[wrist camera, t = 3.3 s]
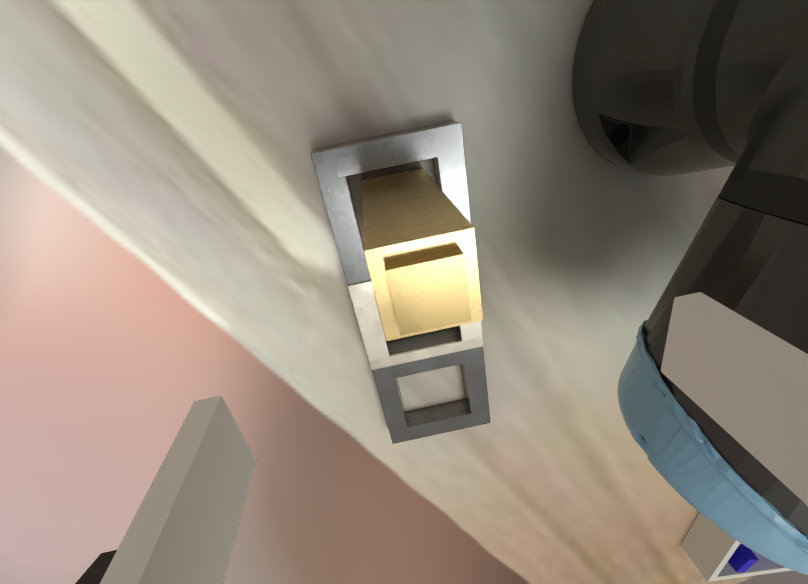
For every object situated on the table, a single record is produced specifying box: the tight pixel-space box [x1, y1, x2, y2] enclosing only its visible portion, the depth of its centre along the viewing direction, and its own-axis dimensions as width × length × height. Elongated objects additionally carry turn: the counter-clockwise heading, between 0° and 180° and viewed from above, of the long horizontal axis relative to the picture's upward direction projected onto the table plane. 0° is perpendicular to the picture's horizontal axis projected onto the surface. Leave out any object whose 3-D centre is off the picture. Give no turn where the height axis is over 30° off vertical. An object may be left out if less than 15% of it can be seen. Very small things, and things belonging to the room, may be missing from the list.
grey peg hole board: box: [311, 121, 490, 444], centre depth 32 cm, size 28×10×2 cm, turn 10°
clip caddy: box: [681, 512, 791, 582], centre depth 54 cm, size 10×18×5 cm, turn 90°
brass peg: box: [361, 168, 483, 341], centre depth 22 cm, size 5×5×15 cm
